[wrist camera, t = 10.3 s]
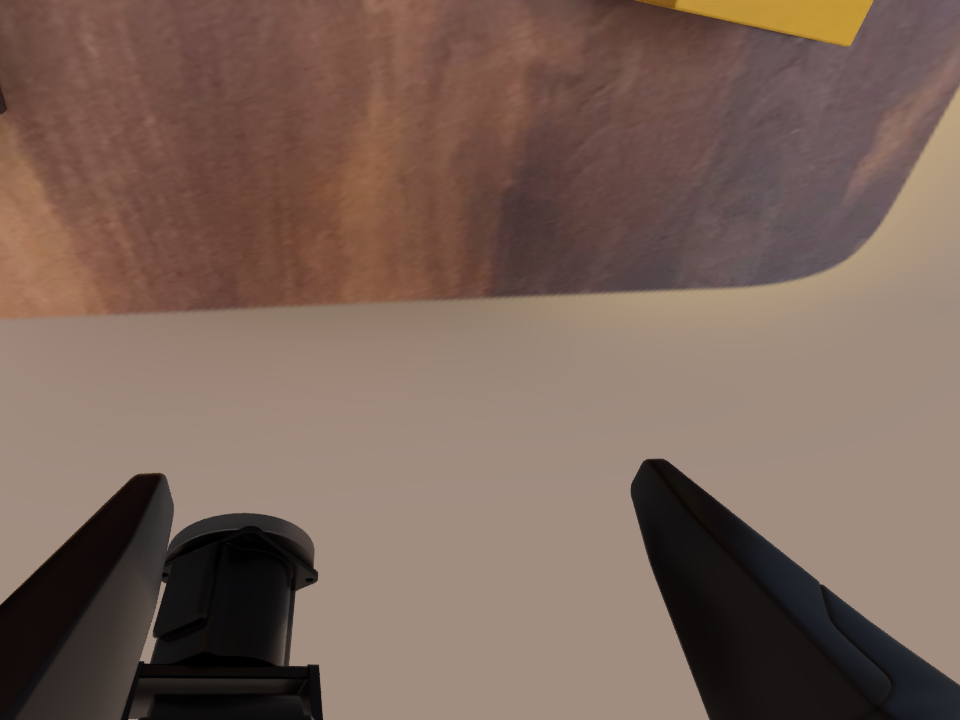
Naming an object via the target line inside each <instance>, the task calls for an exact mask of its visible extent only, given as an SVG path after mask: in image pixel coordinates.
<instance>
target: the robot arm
mask: <svg viewBox="0 0 960 720" xmlns="http://www.w3.org/2000/svg"><path fill="white" fill-rule="evenodd" d="M631 497H632V500H633V504H634V508H635V512H636V515H637V519H638V523H639V526H640V530H641V533H642V537H643V541H644V545H645V549H646V552H647V555H648V559H649V562H650V565H651V567H652V571H653V573H654V576H655V579H656V581H657V584H658V586H659V589H660V592H661V594H662V597H663V599H664V602H665V605H666V607H667V610H668V612H669V615H670V618H671V620H672V623H673V626H674V628H675V631H676V633H677V636H678V639H679V641H680V644H681V646H682V649H683V651H684V654H685V657H686V659H687V662H688V665H689V667H690V670H691V672H692V675H693V678H694V680H695V683H696V686H697V688H698V691H699V693H700V696H701V698H702V701H703V704H704V706H705V709H706V712H707V714H708V717H709V720H960V685H959V684H957V683H956V682H954V681H953V680H952V679H950V678H949V677H947V676H946V675H945V674H943V673H942V672H940V671H939V670H937V669H936V668H935V667H933V666H931V665H930V664H929V663H928V662H926V661H925V660H923V659H922V658H920V657H919V656H918V655H916V654H915V653H913V652H912V651H911V650H909V649H908V648H906V647H905V646H903V645H902V644H901V643H899V642H898V641H896V640H895V639H893V638H892V637H891V636H889V635H888V634H887V633H885V632H884V631H883V630H881V629H880V628H879V627H877V626H876V625H874V624H873V623H872V622H870V621H869V620H867V619H866V618H865V617H864V616H862V615H861V614H860V613H858V612H857V611H856V610H854V609H853V608H852V607H851V606H849V605H848V604H847V603H846V602H844V601H843V600H842V599H840V598H839V597H838V596H837V595H835V594H834V593H833V592H831V591H830V590H829V589H828V588H827V587H825V586H824V585H820V583H819V581H817V580H816V579H815V578H814V577H813V576H811V575H810V574H809V573H808V572H806V571H805V570H804V569H803V568H801V567H800V566H799V565H797V564H796V563H795V562H794V561H792V560H791V559H790V558H789V557H787V556H786V555H785V554H784V553H782V552H781V551H780V550H779V549H777V548H776V547H775V546H774V545H772V544H771V543H770V542H769V541H767V540H766V539H765V538H764V537H762V536H761V535H760V534H758V533H757V532H756V531H755V530H753V529H752V528H751V527H750V526H748V525H747V524H746V523H745V522H743V521H742V520H741V519H740V518H738V517H737V516H736V515H735V514H733V513H732V512H731V511H730V510H728V509H727V508H726V507H725V506H723V505H722V504H721V503H720V502H718V501H717V500H716V499H715V498H713V497H712V496H711V495H709V494H708V493H707V492H706V491H704V490H703V489H702V488H701V487H699V486H698V485H697V484H696V483H694V482H693V481H692V480H691V479H689V478H688V477H687V476H685V475H684V474H683V473H682V472H681V471H679V470H678V469H677V468H676V467H674V466H673V465H672V464H671V463H669V462H668V461H666V460H664V459H646V460H645V461H643V463H642V464H641V466H640V468H639V470H638V472H637V474H636V476H635V478H634V480H633V482H632V484H631ZM173 513H174V505H173V501H172V497H171V493H170V489H169V486H168V482H167V479H166V477H165V475H164V474H161V473H147V474H145V473H144V474H137V475H135V476H134V477H132V478H131V479H130V480H129V481H128V482H127V483H126V484H125V485H124V486H123V487H122V488H121V489H120V490H119V491H118V492H117V493H116V494H115V495H113V496H112V497H111V498H110V499H109V500H108V501H107V502H106V503H105V504H104V505H103V506H102V507H101V508H100V509H99V510H98V511H97V512H96V513H95V514H94V515H93V516H92V517H91V518H90V519H89V520H88V521H87V522H86V523H85V524H84V525H83V526H81V528H79V529H78V530H77V531H76V532H75V533H74V535H72V536H71V537H70V538H69V539H68V540H67V541H66V542H65V543H64V544H63V545H62V546H61V547H60V548H59V549H58V550H57V551H56V552H55V553H54V554H53V555H52V556H51V557H49V558H48V559H47V560H46V561H45V562H44V563H43V564H42V565H41V566H40V567H39V568H38V569H37V570H36V571H35V572H34V573H33V574H32V575H31V576H30V577H29V578H28V579H27V580H26V581H25V582H24V583H23V584H22V585H21V586H20V587H19V588H18V589H16V590H15V591H14V593H12V594H11V595H10V596H9V597H8V598H7V599H6V600H5V601H4V602H3V603H2V604H1V605H0V720H128V719H138V720H323V714H322V701H321V687H320V673H319V665H310V664H308V665H307V666H289V660H290V647H291V637H292V625H293V614H294V602H295V591H297V590H299V589H301V588H304V587H306V586H308V585H311V584H313V583H315V582H317V580H318V572H317V571H316V570H315V569H314V568H312V567H311V566H310V565H308V564H307V563H306V562H304V561H303V560H302V559H300V558H299V557H298V556H296V555H295V554H294V553H292V552H291V551H290V550H288V549H287V548H286V547H284V546H283V545H281V544H280V543H279V542H277V541H276V540H275V539H273V538H272V537H271V536H269V535H268V534H267V533H265V532H264V531H263V530H261V529H260V528H258V527H256V526H246V527H243V528H241V529H239V530H236V531H234V532H232V533H229V534H227V535H225V536H223V537H220V538H218V539H216V540H213V541H211V542H209V543H206V544H204V545H202V546H199V547H197V548H195V549H193V550H190V551H188V552H186V553H183V554H181V555H179V556H176V557H174V558H172V559H169V560H167V561H165V558H166V553H167V547H168V542H169V537H170V531H171V526H172V521H173ZM161 581H163V582H164V583H166V587H165V591H164V594H163V598H162V601H161V605H160V608H159V612H158V615H157V619H156V622H155V626H154V629H153V637H154V638H156V639H157V640H156V644H155V647H154V651H153V654H152V658H151V662H150V664H144V661H139V660H140V657H141V654H142V650H143V647H144V644H145V641H146V638H147V635H148V631H149V628H150V625H151V622H152V619H153V615H154V612H155V608H156V604H157V600H158V595H159V590H160V585H161Z"/></svg>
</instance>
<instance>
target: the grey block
mask: <svg viewBox="0 0 960 720" xmlns="http://www.w3.org/2000/svg"><path fill="white" fill-rule="evenodd" d="M4 112H6V107H5V104H4V101H3V98H2V95H1V92H0V114H2V113H4Z"/></svg>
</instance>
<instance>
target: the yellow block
mask: <svg viewBox="0 0 960 720" xmlns="http://www.w3.org/2000/svg"><path fill="white" fill-rule="evenodd" d="M634 1H638V2H643V3H647V4H652V5H656V6H661V7H665V8H670V9H674V10H679V11H683V12H688V13H692V14H697V15H702V16H706V17H711V18H715V19H720V20H725V21H729V22H734V23H738V24H743V25H748V26H752V27H757V28H761V29H766V30H771V31H775V32H780V33H784V34H789V35H794V36H798V37H803V38H808V39H812V40H817V41H821V42H826V43H831V44H835V45H840V46H844V47H847V46H850V45H851V43H852V41H853V39H854V37H855V36H856V34H857V32H858V30H859V28H860V26H861V24H862V22H863V20H864V18H865V16H866V14H867V12H868V10H869V8H870V6H871V4H872V2H873V1H874V0H634Z"/></svg>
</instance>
